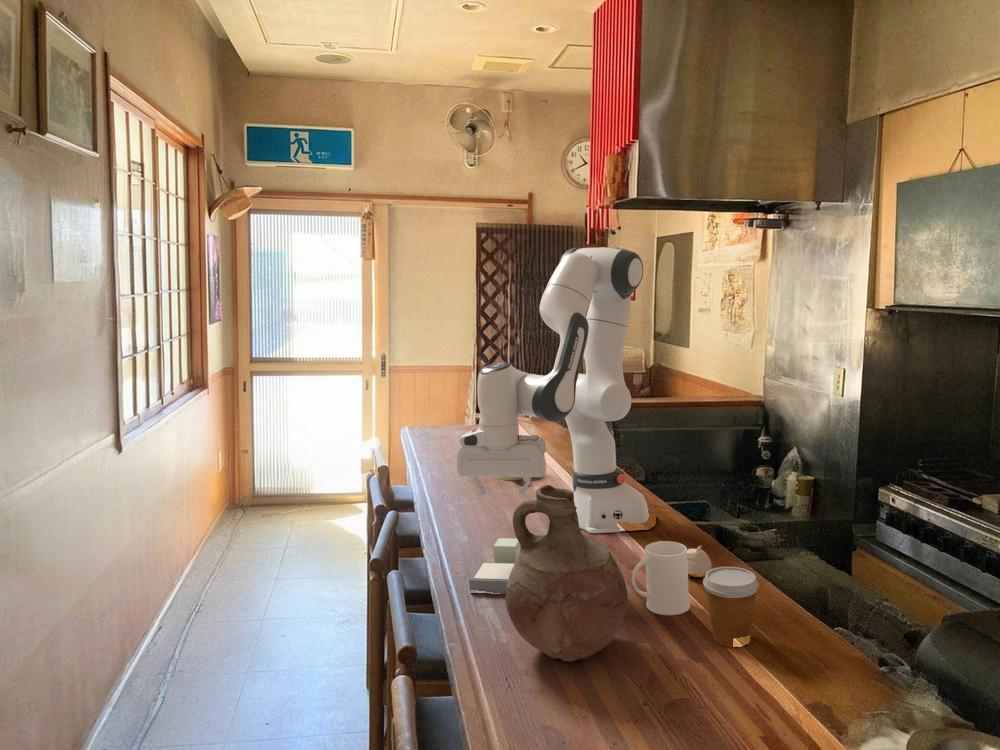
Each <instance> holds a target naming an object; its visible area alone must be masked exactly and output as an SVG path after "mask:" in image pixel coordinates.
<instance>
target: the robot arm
mask: <svg viewBox="0 0 1000 750" xmlns="http://www.w3.org/2000/svg"><path fill="white" fill-rule="evenodd" d="M643 276H644V264H643V261H642V259H641V257H640V255H639V254H638V253H637V252H634V251H631V250H629V249H625V248H624V249H619V248H613V247H605V246H601V247H582V246H577V247H573V248H570V249H567V250H566V251H565V252H564V253H563V255H561V257H560V259H559V262H558V265H557V266H556V268H555V270H554V271H553V272H552V275H551V276H550V278H549V281H548V283H547V285H546V287H545V289H544V292H543V293H542V296H541V299H540V303H539V309H538V310H539V314H540V317H541V319H542V321H543V322H544V324H545V325H546V326H547V327H549V328H550V329H551V330H553V332H555V333H557V334H558V335H559V337H560V343H559V346H558V350H557V353H556V357H555V361H554V365H553V368H552V370H551V371H550V372H549V373H548V374H546V375H543V374H535V373H529V372H525V371H522V370H520V369H517V368H516V367H514V366H513V365H512V364H511V363H510V362H505V361H501V362H500V361H499V362H495V363H490V364H488V365H486V366H483V367H482V368H481V369H480V371H479V372H478V375H477V386H476V387H477V392H476V393H477V395H476V396H477V406H478V409H479V412H480V413H479V419H478V420H479V421H478V424H479V425H478V426H479V427H478V428H475V429H472V430H468V431H467V432H465V433H464V434H462V435H461V437H460V438H459V444H460V446H461V447H459V449H458V451H457V455H456V472H457V474H458V475H459V476H460V477H467V478H468V477H472V482H473V483H474V485H475V486H476V488H477V489H478V495H479V496H486V495H487V493H488V490H487V486H486V485H483V484H482V481H481V479H482V477H483V478H484V477H485V478H488V477H489V478H498V477H523V479H522V480H523V482H524V484H523V486H519V488H518V492H519V494H518V495H519V496H520V497H526V496H527V495H528V488H527V487H528V486H529V485H530V482H531V481H532V478H542V477H543V476H544V475H545V474H546V472H547V463H546V456H545V453H546V450H547V448H546V442H545V439H543V438H542V437H540V436H539V435H537V434H536V435H535V434H533V435H528V434H527V435H525V434H524V435H521V434H520V428H519V419H518V418H519V415H522V416H527V417H532V418H539V419H541V420H544V421H549V422H552V423H558V422H561V421H563V420H565V421H566V425H567V428H568V432H569V436H570V439H571V446H572V457H573V458H572V459H573V469H572V475H571V476H572V477H571V481H572V488H573V494H574V502H575V506H576V507H577V509H576V512H577V515H578V521H579V527H580V530H581V529H582V530H584V531H586V532H587V533H590V534H604V533H605V534H606V533H607V534H608V533H622V532H621V531H620V528H619V527H618V526H617V523H618V522H630V523H644V522H646V521H647V520H648V518H649V513H648V510H649V508H648V505H647V504H648V503H647V501H646V499H645V497H644V495H643V494H642V493H641V492H640V491H638V490H637V489H635V488H634V487H632V486H631V485H629V484H627V483H626V482H625V481H626V475H625V471H624V469H623V468H622V469H620V468H618V467H617V459H616V458H617V456H616V455H617V454H616V441H615V438H614V436H613V435H612V433H611V432H610V430H609V428H608V426H607V423H606V422H615V421H619V420H622V419H624V417H626V416H627V415H628V413H629V411H630V409H631V406H632V395H631V391H630V389H629V388H628V387H627V385H626V382H625V378H624V377H625V376H624V370H623V368H624V367H623V356H624V350H625V349H624V348H625V343H626V339H627V338H626V337H627V334H628V333H627V332H628V330H629V329H628V328H629V323H630V318H631V317H630V316H631V308H632V307H631V305H632V304H631V303H632V300H631V299H632V297H631V296H632V294H633V293H634V292H635V291H636V289H637V288H639V285H640V284H641V282H642V279H643ZM583 359H584V362H585V373H580V370H581V366H582V363H583Z"/></svg>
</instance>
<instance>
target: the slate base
mask: <svg viewBox="0 0 1000 750" xmlns="http://www.w3.org/2000/svg"><path fill="white" fill-rule="evenodd" d="M514 564H515V563H495V562H494V561H493V562H485V561H484V562H483V561H482V562H480V563H479V564H478V565H477V568H476V569H475V571H474V572H473V573H472V575H471V576H470V578H469V580H468V583H469V591H470V590H478V591H486V592H493V593H500V594H506V588H507V582H508V579H509V576H510V573H511V571H512V568H513V566H514Z"/></svg>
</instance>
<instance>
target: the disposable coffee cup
mask: <svg viewBox="0 0 1000 750" xmlns="http://www.w3.org/2000/svg"><path fill="white" fill-rule="evenodd" d="M702 584H703V587H704V588H705V592H706V597H707V603H708V604H707V605H708V610H709V616H710V622H711V629H712V634H713V640H714V642H715V643H716V644H718V645H720V646H722V647H725V648H730V649H731V648H732V649H734V648H733V639H734V638H740V637H746V636H749V635H750V634H751V635H752V631H753V629H752V628H753V621H754V615H755V614H754V611H755V604H756V597H757V592H758V589H759V587H760V583H759V581H758V580H757V577H756V575H755V573H754V572H752V571H751V570H748V569H746V568H742V567H738V566H737V567H736V566H720V567H714V568H711V570H709V571H707V573H706V575H705V577H703V580H702Z"/></svg>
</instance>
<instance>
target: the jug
mask: <svg viewBox="0 0 1000 750" xmlns="http://www.w3.org/2000/svg"><path fill="white" fill-rule="evenodd" d="M535 496H536V498H535V499H529V500H524V501H522V502H521V503H519V505H517V506H516V508H515V510H514V512H513V516H512V526H513V531H514V535H515V537H516V538H515V539H518V541H519V543H520V553H519V555H518V558H517V560H516V562H515V564H514V566H513V568H512V571H511V573H510V576H509V579H508V582H507V588H506V595H505V606H506V610H507V613H508V616H509V618H510V621H511V623H512V625H513V626H514V628H515V629H516V632H517V633H518V634H519V635H520V636H521V638H523V640H525V642H527V643H528V644H529V645H531V646H532V647H533V648H535V649H536V650H538V651H539V652H541V653H543V654H546V655H547V656H548V657H549V658H552V659H554V660H555V659H556V660H558V659H559V660H561V661H563V662H575V661H578V660H587V659H588V658H590V657H592V656H595V655H596V653H597V652H599V651H602V649H604V648H605V647H607V645H609V644H610V643H611V642H612V641H613V640H614V639H615V637H616V636H618V634H619V632H620V629H621V628H622V626H623V624H624V621H625V617H626V614H627V611H628V601H629V599H628V598H629V597H628V588H627V585H626V581H625V578H624V576H623V573H622V571H621V569H620V567H619V565H618V564H617V562H616V560H615V558H614V557H613V555H612V554H611V552H610V550H609V549H608V548H607V547H606V546H605V545H604V544H602V543H600V542H598V541H597V540H595V539H592V538H591V537H589V536H587V535H584V534H583V533H582V531H581V528H580V527H579V521H578V515H577V512H576V509H577V507H576V506H575V502H574V491H572V490H570V489H564V488H557V487H555V486H552V485H550V484H545V485H541V486H540V487H539V488H537V489H536V491H535ZM535 513H539V514H540V513H541V514H544V515H545V516H547V517H548V520H549V523H548V530H547V533H545V534H542V535H536V534H534V533H532V532H530V530H529V529H528V527H527V524H526V517H527V516H528V515H530V514H535Z"/></svg>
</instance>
